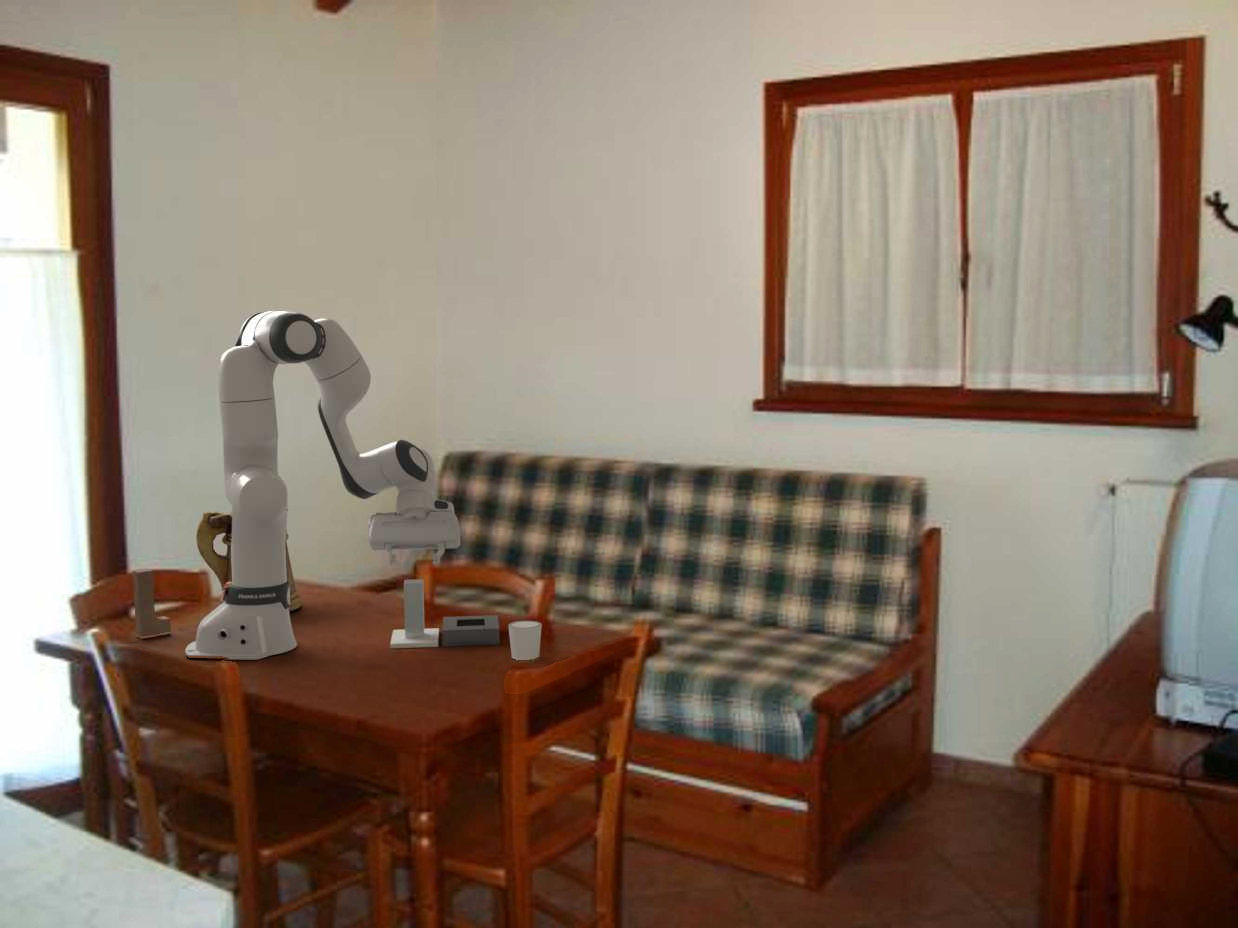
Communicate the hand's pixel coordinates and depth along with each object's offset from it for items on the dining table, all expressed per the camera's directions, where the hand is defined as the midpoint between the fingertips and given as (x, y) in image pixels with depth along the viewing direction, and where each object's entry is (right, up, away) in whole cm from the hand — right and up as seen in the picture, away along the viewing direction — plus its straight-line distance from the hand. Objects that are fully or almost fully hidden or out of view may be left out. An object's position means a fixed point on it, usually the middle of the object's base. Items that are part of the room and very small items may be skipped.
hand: (414, 562), depth 271 cm
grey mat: (+1, -16, -5) cm, 17 cm away
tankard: (-43, -14, +23) cm, 51 cm away
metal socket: (+13, -16, -3) cm, 21 cm away
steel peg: (+1, -15, -5) cm, 16 cm away
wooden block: (-58, -16, 0) cm, 60 cm away
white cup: (+26, -18, -18) cm, 37 cm away
